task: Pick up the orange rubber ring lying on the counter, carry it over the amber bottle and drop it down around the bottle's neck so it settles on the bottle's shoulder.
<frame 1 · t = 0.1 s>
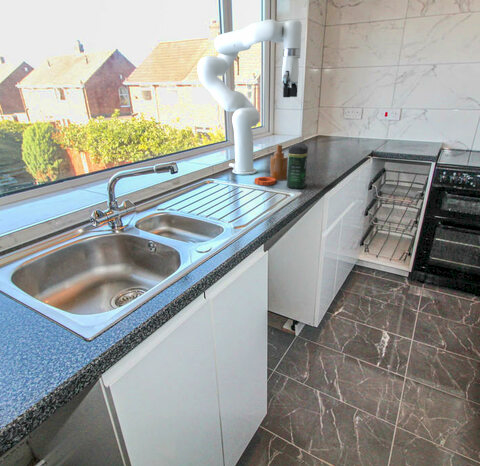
hand: (290, 97, 149), 37 cm above the worktop, tool pointing down, fingers open, 9 cm apart
bottle: (278, 178, 161), on the worktop
coffee jar: (296, 186, 148), on the worktop
bung: (265, 182, 154), on the worktop
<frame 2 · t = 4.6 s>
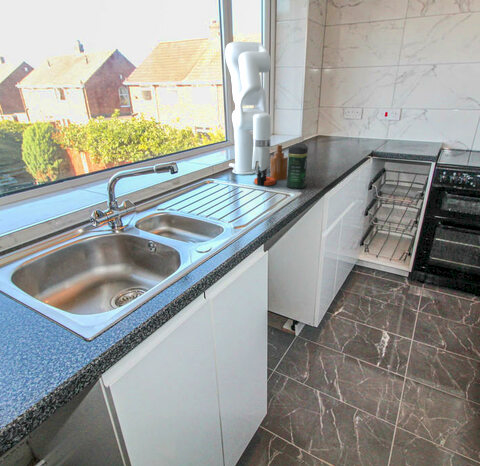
hand: (261, 184, 150), 0 cm above the worktop, tool pointing down, fingers closed on bung, 2 cm apart
bung: (264, 182, 154), on the worktop, touching gripper
everything else where it was.
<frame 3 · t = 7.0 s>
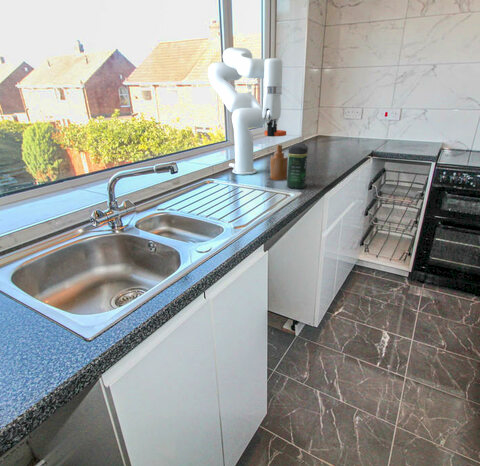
hand: (271, 135, 147), 21 cm above the worktop, tool pointing down, fingers closed on bung
bung: (275, 134, 150), point 21 cm above the worktop, touching gripper
everything else where it was.
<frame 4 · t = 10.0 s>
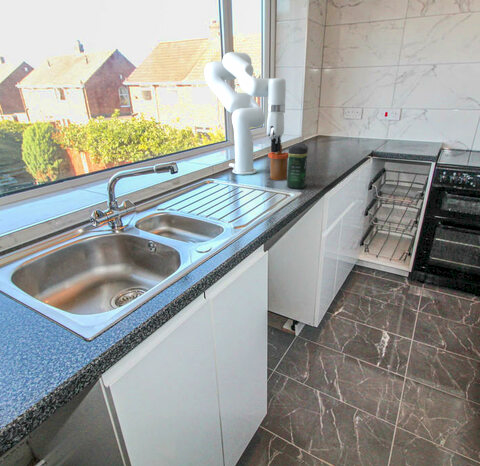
hand: (275, 151, 152), 14 cm above the worktop, tool pointing down, fingers closed
bung: (278, 157, 156), point 10 cm above the worktop, touching bottle
everything else where it was.
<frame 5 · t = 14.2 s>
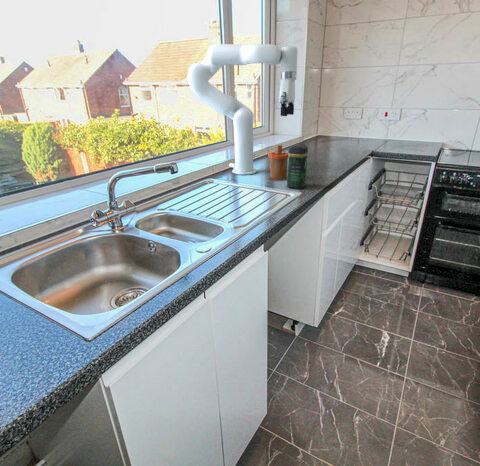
hand: (287, 115, 161), 28 cm above the worktop, tool pointing down, fingers open, 9 cm apart
nothing on the worktop moved.
at the end: bung 0.8 cm off-centre on the bottle, point 10.5 cm above the bottle's base; the gripper is holding nothing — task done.
